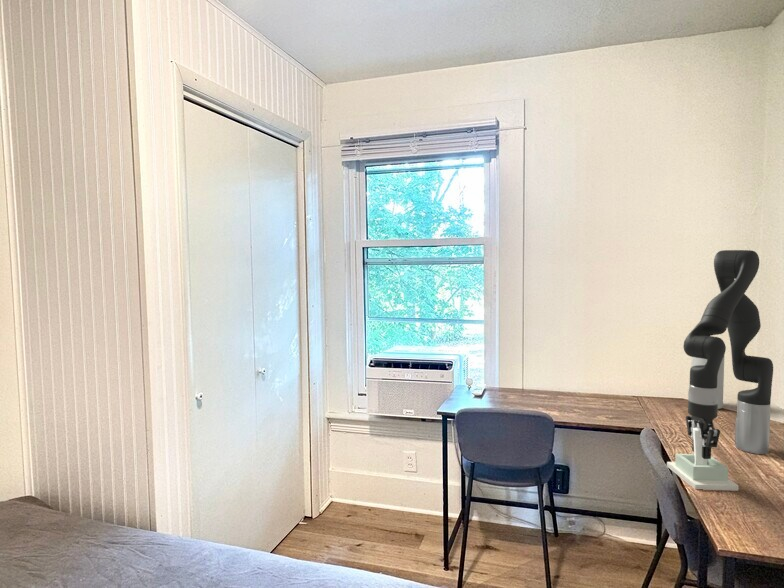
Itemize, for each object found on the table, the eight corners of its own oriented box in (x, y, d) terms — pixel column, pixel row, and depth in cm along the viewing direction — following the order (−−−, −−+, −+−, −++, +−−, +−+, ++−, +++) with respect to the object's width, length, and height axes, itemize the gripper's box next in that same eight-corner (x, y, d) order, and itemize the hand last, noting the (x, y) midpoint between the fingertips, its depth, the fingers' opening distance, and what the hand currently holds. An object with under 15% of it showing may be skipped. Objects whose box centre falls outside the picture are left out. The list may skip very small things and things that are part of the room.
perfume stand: (666, 466, 151) (667, 449, 151) (705, 467, 150) (705, 450, 150) (695, 489, 135) (695, 471, 135) (738, 490, 135) (738, 472, 134)
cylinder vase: (687, 405, 216) (688, 352, 215) (694, 400, 225) (695, 349, 224) (719, 411, 207) (721, 356, 206) (725, 405, 216) (727, 352, 215)
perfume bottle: (710, 468, 143) (711, 420, 142) (708, 472, 140) (709, 424, 139) (693, 464, 146) (693, 417, 145) (690, 468, 143) (691, 420, 142)
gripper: (731, 407, 134) (729, 465, 135) (701, 394, 148) (700, 446, 149) (703, 407, 135) (702, 464, 136) (677, 393, 149) (676, 446, 150)
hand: (701, 454), depth 143 cm, fingers closed on perfume bottle, 4 cm apart
